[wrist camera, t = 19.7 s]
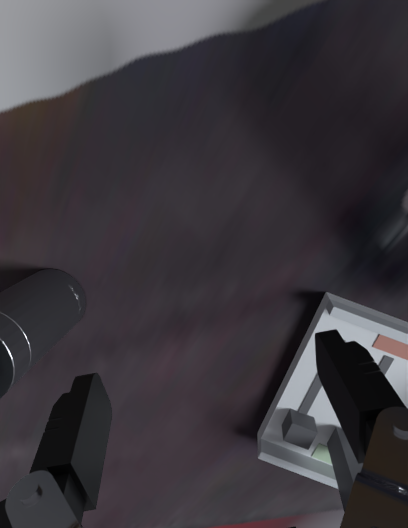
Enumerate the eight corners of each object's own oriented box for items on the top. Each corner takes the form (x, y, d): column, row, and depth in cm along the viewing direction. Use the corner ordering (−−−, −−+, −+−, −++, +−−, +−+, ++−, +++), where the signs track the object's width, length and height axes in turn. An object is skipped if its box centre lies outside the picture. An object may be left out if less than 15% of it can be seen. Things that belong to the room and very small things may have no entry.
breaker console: (384, 480, 56) (397, 514, 51) (257, 432, 57) (258, 461, 52) (471, 346, 49) (498, 369, 44) (325, 291, 50) (334, 308, 44)
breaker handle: (351, 453, 52) (386, 561, 39) (325, 443, 52) (352, 548, 39) (361, 435, 51) (402, 539, 38) (335, 425, 51) (366, 526, 38)
